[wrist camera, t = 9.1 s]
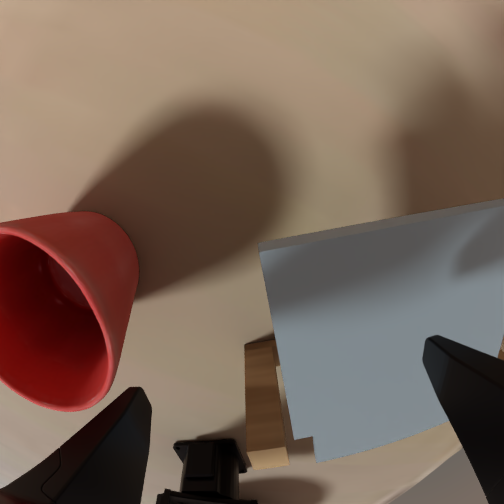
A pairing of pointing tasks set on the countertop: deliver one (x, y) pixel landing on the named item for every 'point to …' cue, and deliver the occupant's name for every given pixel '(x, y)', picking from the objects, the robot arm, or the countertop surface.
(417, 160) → the countertop surface
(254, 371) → the frame
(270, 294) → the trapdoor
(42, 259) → the flower pot
